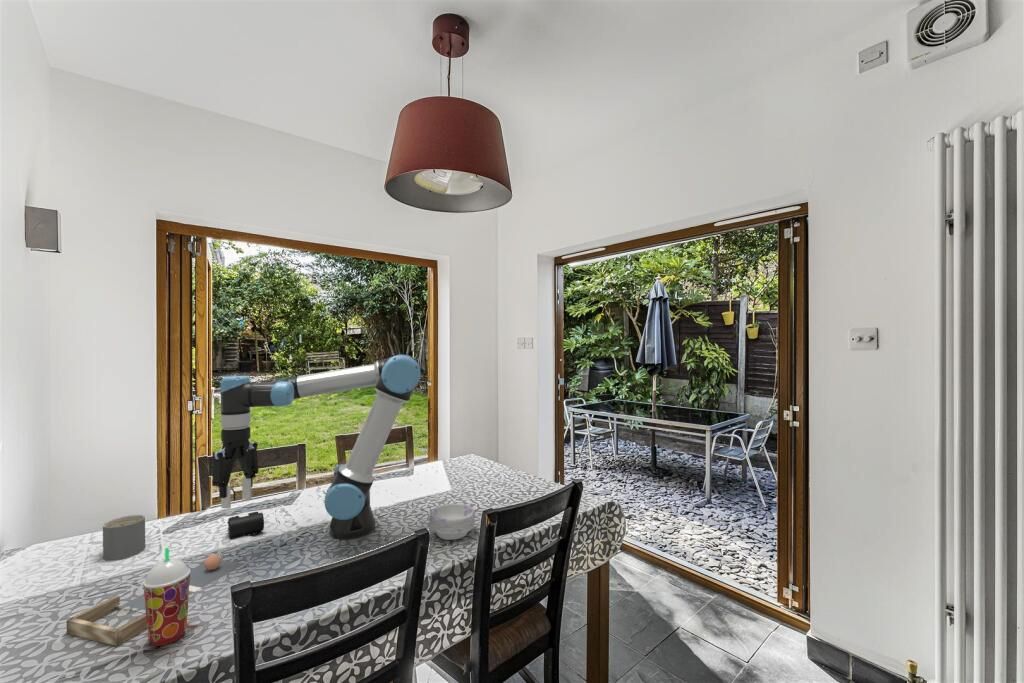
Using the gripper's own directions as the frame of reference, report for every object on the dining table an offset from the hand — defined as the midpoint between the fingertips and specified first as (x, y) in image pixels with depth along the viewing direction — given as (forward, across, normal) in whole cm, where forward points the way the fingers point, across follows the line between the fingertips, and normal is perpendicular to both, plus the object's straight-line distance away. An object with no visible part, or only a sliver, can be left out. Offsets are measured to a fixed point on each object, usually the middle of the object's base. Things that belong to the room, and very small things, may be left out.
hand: (236, 503), depth 133 cm
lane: (+17, +15, 0) cm, 23 cm away
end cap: (+17, -14, -12) cm, 25 cm away
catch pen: (+17, +32, 0) cm, 36 cm away
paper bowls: (+17, -33, +56) cm, 67 cm away
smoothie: (+17, +32, +16) cm, 40 cm away
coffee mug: (+17, +5, -40) cm, 44 cm away
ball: (+16, +8, 0) cm, 18 cm away
